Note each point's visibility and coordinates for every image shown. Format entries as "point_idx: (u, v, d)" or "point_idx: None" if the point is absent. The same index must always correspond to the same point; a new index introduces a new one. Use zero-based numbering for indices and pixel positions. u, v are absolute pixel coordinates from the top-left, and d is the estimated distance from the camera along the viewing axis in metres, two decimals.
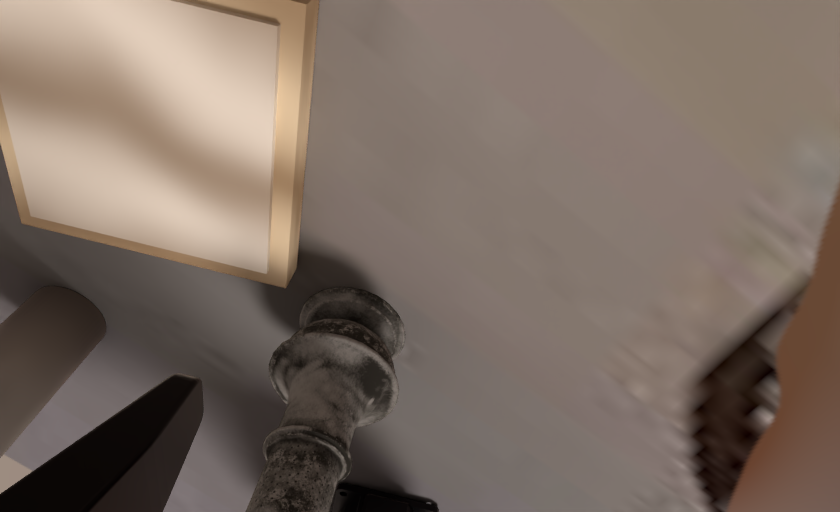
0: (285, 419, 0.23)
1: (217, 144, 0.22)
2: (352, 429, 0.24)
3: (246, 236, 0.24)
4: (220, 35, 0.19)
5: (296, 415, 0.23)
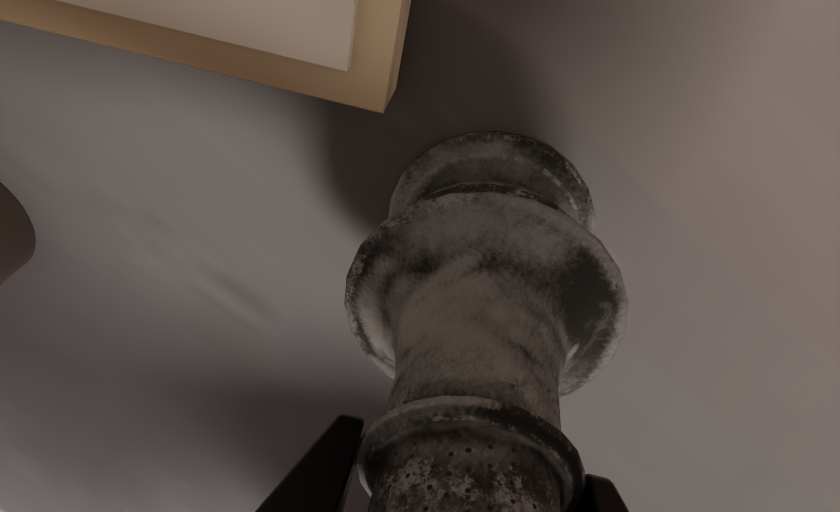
0: (410, 384, 0.09)
1: None
2: None
3: None
4: None
5: (441, 373, 0.09)
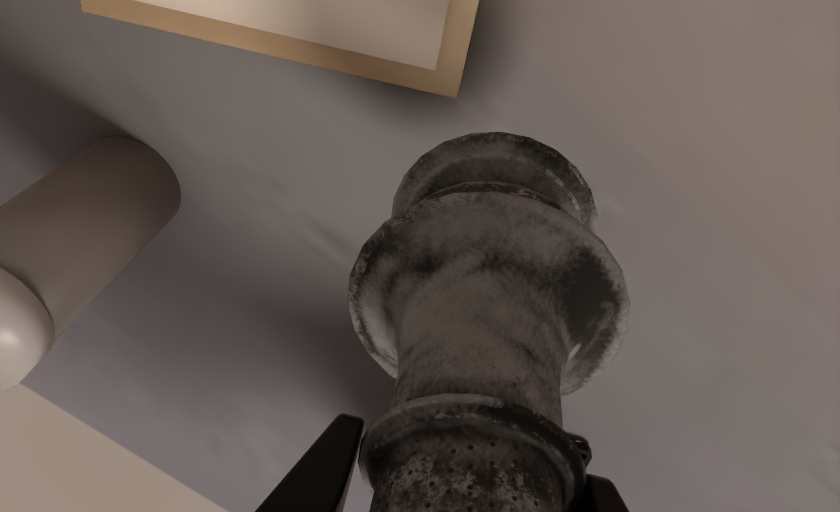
0: (413, 382, 0.09)
1: None
2: None
3: (415, 3, 0.16)
4: None
5: (444, 371, 0.09)
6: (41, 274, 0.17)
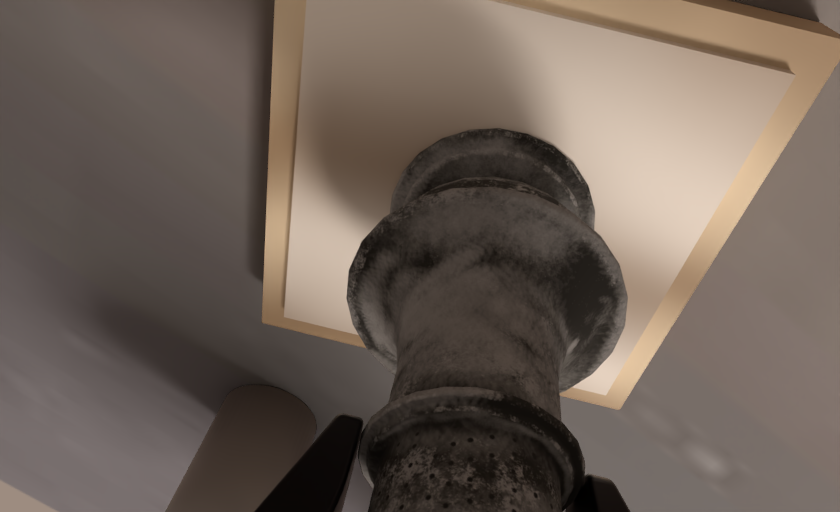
0: (412, 376, 0.09)
1: (610, 236, 0.15)
2: None
3: None
4: (690, 87, 0.13)
5: (444, 365, 0.09)
6: None
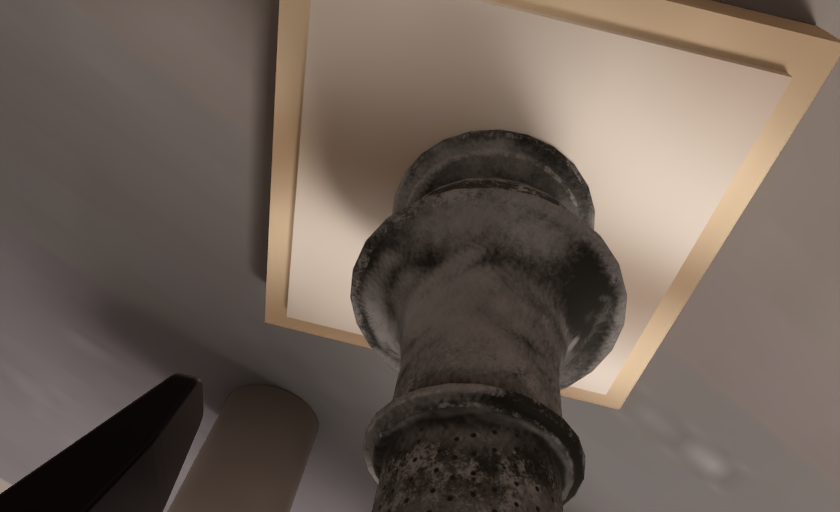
0: (416, 373, 0.10)
1: (610, 237, 0.15)
2: None
3: None
4: (689, 89, 0.13)
5: (447, 362, 0.09)
6: None
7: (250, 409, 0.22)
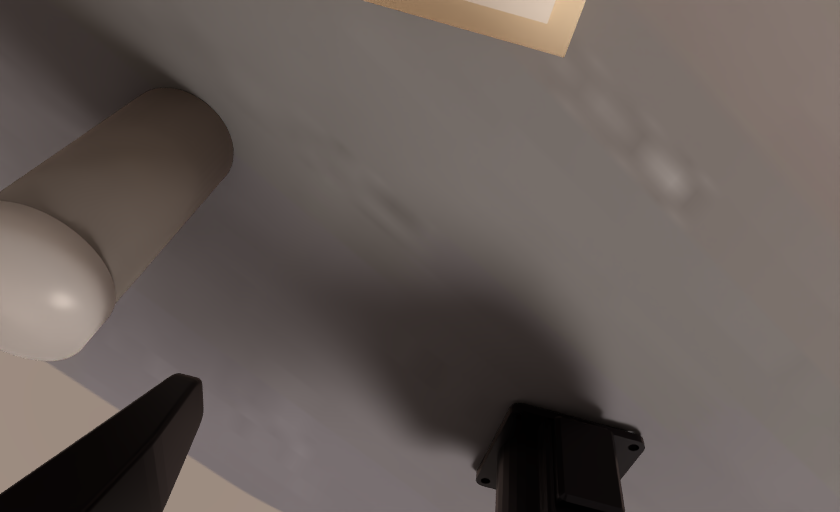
0: None
1: None
2: None
3: None
4: None
5: None
6: (104, 233, 0.15)
7: (148, 101, 0.19)
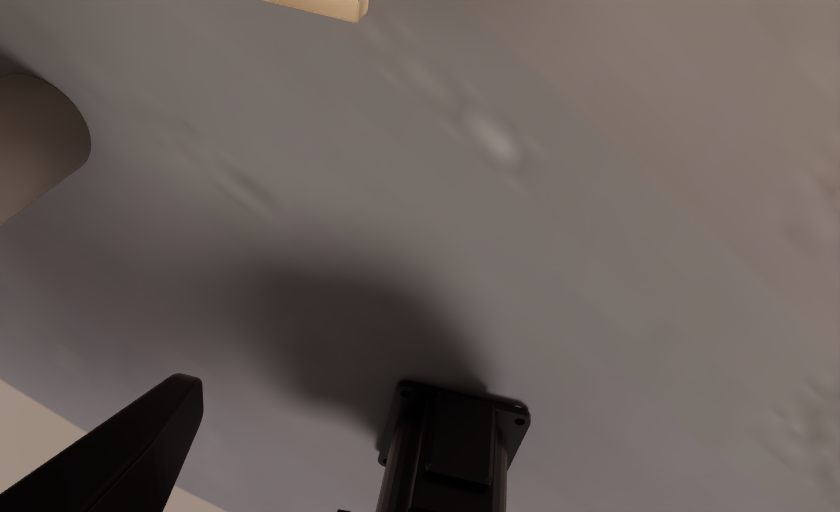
0: None
1: None
2: None
3: None
4: None
5: None
6: None
7: None
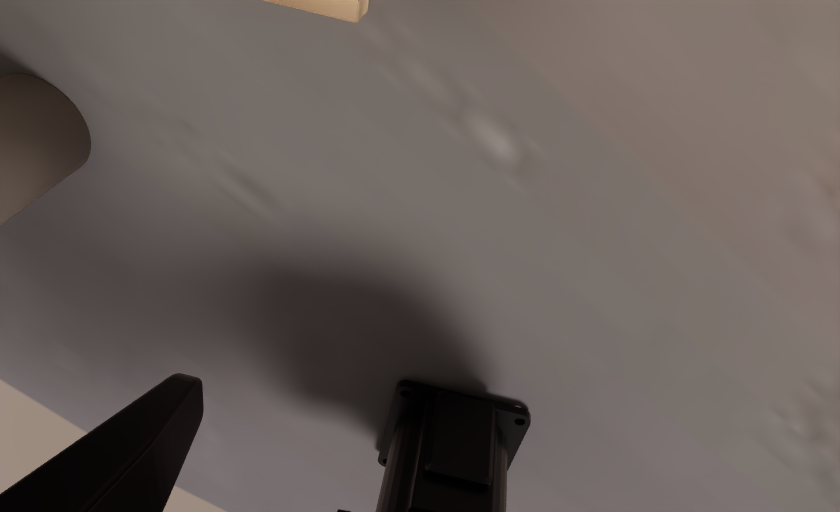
0: None
1: None
2: None
3: None
4: None
5: None
6: None
7: None
